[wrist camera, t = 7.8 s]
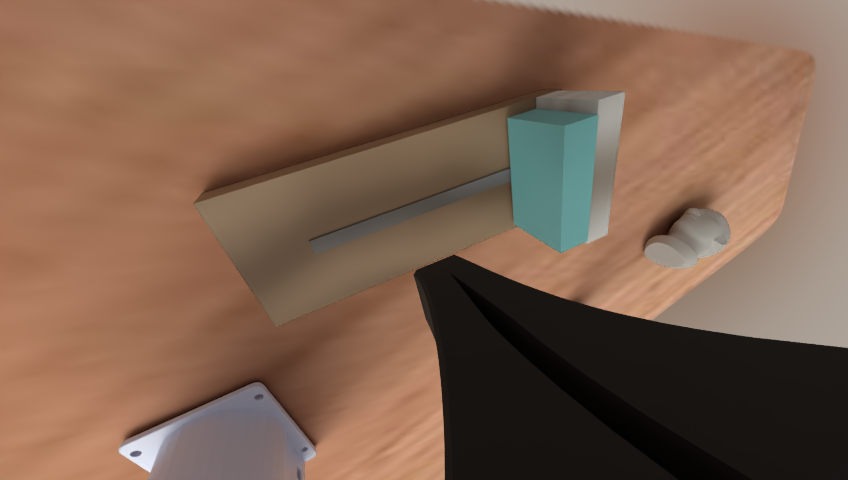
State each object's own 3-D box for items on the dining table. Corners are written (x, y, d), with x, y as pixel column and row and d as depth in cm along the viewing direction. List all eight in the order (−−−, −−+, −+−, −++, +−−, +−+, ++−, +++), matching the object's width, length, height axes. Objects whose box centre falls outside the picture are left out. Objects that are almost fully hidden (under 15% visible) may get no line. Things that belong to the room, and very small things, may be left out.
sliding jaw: (537, 214, 20) (587, 240, 16) (513, 224, 19) (560, 252, 16) (535, 108, 16) (598, 114, 13) (507, 118, 16) (564, 126, 12)
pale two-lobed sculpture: (689, 200, 31) (689, 247, 32) (634, 217, 28) (636, 268, 29) (746, 200, 27) (744, 255, 28) (687, 220, 24) (688, 279, 25)
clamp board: (543, 202, 22) (610, 232, 17) (277, 309, 18) (271, 388, 13) (543, 89, 18) (629, 89, 13) (201, 193, 14) (157, 245, 9)
